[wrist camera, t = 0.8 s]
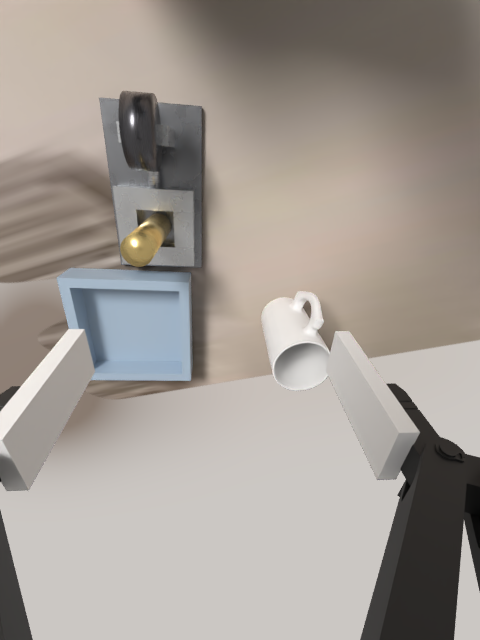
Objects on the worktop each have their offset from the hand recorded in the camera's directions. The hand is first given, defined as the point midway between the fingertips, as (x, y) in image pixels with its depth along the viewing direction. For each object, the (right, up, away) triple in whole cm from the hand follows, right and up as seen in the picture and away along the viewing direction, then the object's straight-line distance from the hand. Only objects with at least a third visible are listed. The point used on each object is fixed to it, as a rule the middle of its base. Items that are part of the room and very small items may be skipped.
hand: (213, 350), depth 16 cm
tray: (-13, +1, +26) cm, 29 cm away
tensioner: (-8, +16, +18) cm, 26 cm away
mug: (+8, +4, +27) cm, 28 cm away
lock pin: (-8, +13, +19) cm, 25 cm away
